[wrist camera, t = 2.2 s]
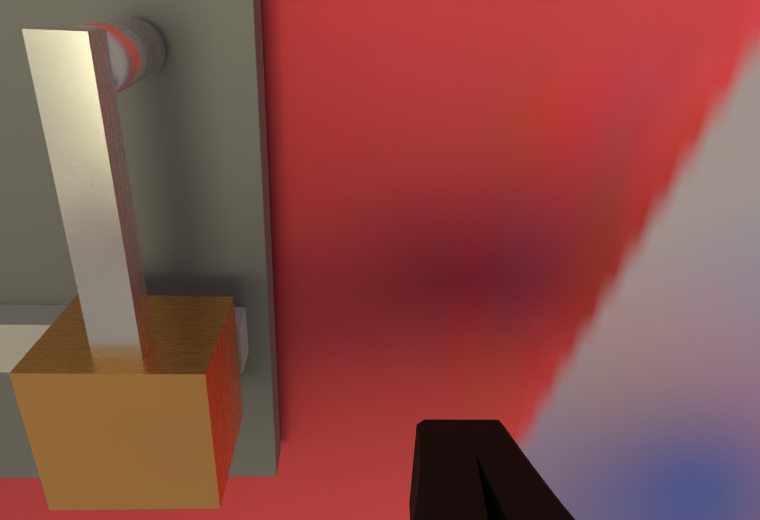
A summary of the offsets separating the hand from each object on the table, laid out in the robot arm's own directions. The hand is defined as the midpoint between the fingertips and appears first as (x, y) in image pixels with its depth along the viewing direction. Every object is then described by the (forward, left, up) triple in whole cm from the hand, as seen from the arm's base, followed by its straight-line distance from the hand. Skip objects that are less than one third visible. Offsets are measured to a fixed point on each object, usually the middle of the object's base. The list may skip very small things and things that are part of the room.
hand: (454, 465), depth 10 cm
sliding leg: (-6, +2, -4) cm, 7 cm away
